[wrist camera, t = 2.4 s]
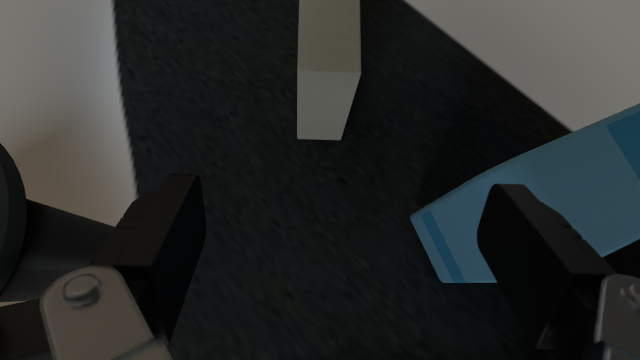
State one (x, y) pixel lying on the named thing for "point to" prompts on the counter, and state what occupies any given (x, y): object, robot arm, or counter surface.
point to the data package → (546, 196)
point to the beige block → (327, 66)
